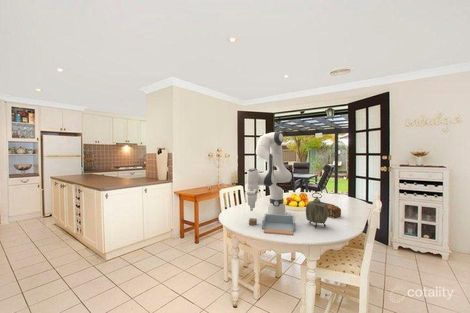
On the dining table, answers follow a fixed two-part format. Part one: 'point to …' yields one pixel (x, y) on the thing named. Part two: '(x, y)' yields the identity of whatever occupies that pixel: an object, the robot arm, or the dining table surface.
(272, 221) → the blue-grey open tray
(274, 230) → the panel
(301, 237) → the dining table surface
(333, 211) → the bread
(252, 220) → the walnut block
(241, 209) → the dining table surface
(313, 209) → the tabletop clock
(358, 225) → the dining table surface
